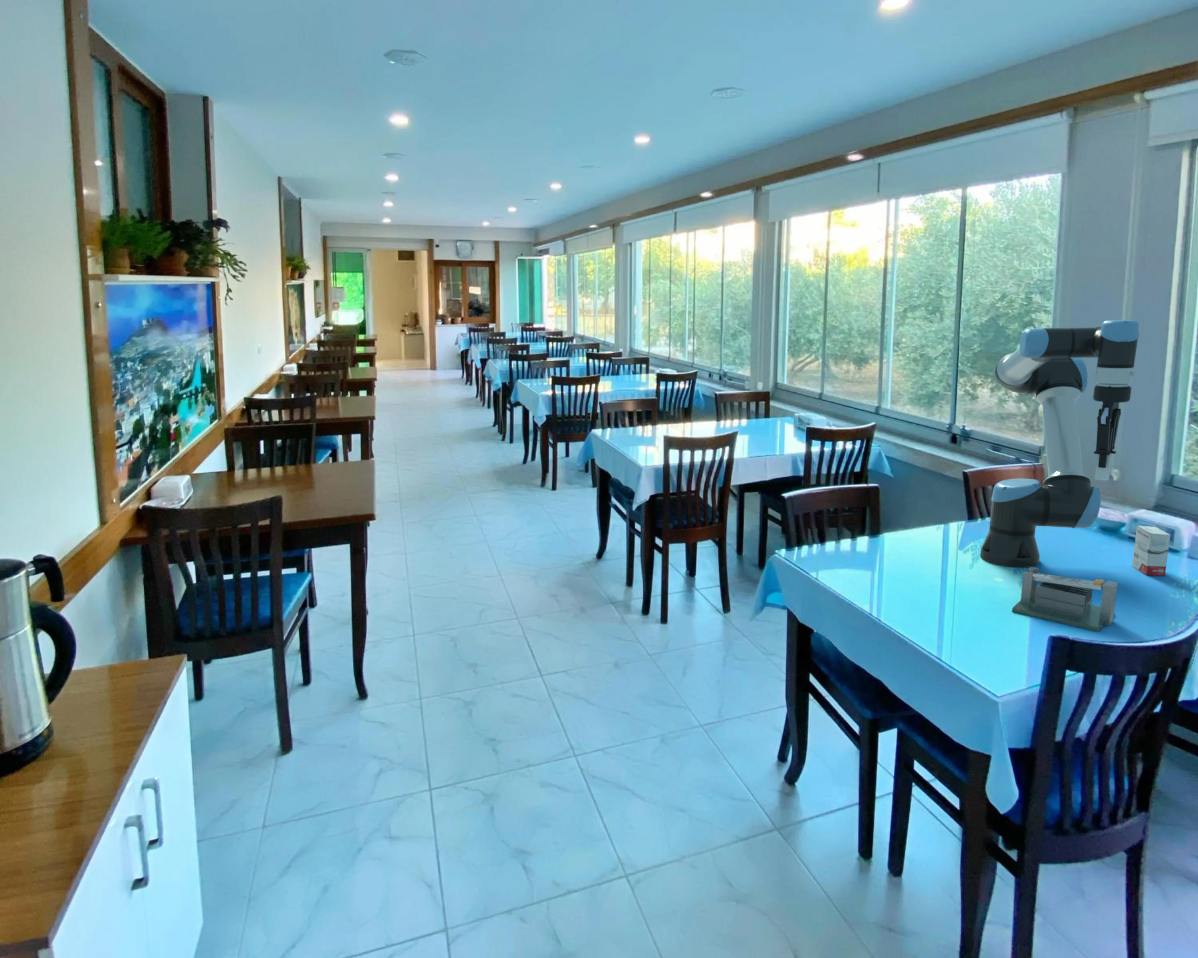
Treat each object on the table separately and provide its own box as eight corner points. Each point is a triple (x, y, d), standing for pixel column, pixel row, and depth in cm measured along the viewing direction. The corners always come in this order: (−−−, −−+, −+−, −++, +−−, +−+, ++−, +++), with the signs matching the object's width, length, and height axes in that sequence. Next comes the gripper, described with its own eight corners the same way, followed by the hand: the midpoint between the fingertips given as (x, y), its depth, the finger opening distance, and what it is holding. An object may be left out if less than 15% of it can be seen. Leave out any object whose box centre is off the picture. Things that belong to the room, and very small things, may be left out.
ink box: (1166, 576, 206) (1172, 534, 204) (1145, 575, 207) (1151, 533, 205) (1150, 566, 215) (1156, 525, 212) (1130, 565, 216) (1136, 524, 213)
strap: (1025, 579, 187) (1026, 573, 187) (1030, 576, 189) (1030, 569, 189) (1100, 590, 176) (1100, 583, 176) (1104, 586, 179) (1104, 579, 178)
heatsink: (1012, 611, 186) (1015, 574, 184) (1029, 595, 195) (1033, 560, 193) (1103, 632, 173) (1108, 593, 170) (1117, 614, 182) (1122, 576, 180)
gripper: (1125, 388, 179) (1113, 486, 184) (1137, 383, 188) (1125, 477, 193) (1088, 386, 184) (1077, 482, 189) (1101, 381, 193) (1090, 473, 198)
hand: (1101, 479), depth 191 cm, fingers closed
